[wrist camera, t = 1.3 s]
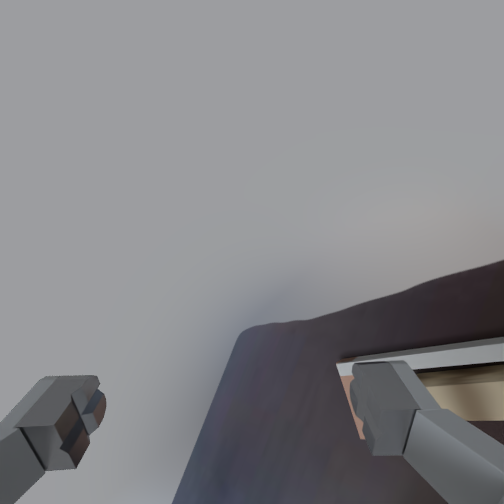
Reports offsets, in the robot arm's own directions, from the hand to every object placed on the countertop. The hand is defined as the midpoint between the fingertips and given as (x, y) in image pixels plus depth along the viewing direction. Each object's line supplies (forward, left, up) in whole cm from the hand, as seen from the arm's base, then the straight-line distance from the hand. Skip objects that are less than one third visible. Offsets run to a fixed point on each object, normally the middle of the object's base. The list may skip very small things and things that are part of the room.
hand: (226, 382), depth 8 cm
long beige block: (-1, +13, -43) cm, 45 cm away
